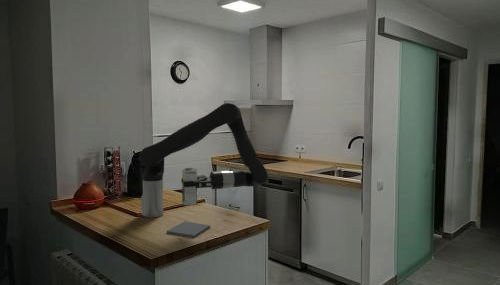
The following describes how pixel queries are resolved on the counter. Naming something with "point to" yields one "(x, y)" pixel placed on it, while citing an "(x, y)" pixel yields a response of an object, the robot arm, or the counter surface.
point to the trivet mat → (188, 229)
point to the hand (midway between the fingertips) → (182, 182)
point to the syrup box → (189, 192)
